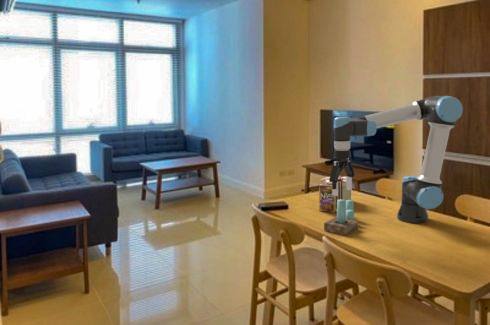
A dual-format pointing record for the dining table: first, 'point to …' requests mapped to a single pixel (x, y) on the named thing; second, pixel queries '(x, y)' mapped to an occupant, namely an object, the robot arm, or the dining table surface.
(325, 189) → the candy box
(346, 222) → the walnut block
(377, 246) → the dining table surface
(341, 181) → the gift box
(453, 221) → the dining table surface
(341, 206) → the long dowel
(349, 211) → the short dowel
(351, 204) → the medium dowel
